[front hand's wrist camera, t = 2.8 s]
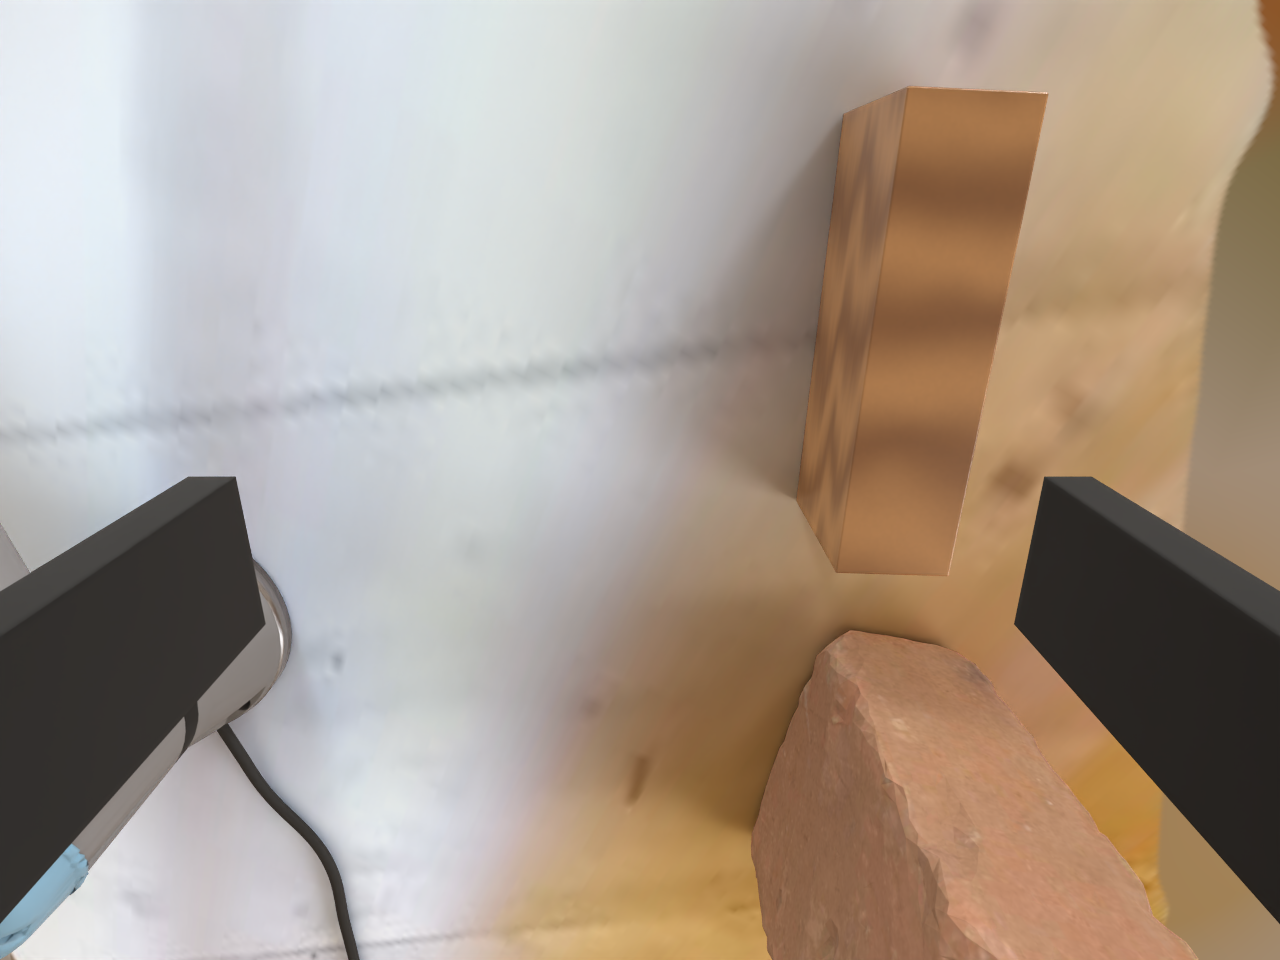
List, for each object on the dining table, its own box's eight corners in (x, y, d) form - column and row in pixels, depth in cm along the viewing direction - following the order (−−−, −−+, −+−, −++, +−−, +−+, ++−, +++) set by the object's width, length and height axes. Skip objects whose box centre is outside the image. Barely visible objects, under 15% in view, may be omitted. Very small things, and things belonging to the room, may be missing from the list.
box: (886, 504, 49) (949, 576, 39) (795, 501, 49) (835, 573, 39) (952, 118, 41) (1049, 92, 31) (843, 113, 41) (908, 85, 31)
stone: (874, 874, 60) (1073, 1389, 33) (739, 852, 59) (833, 1363, 32) (968, 645, 53) (1310, 1054, 27) (818, 615, 52) (1018, 1010, 26)
